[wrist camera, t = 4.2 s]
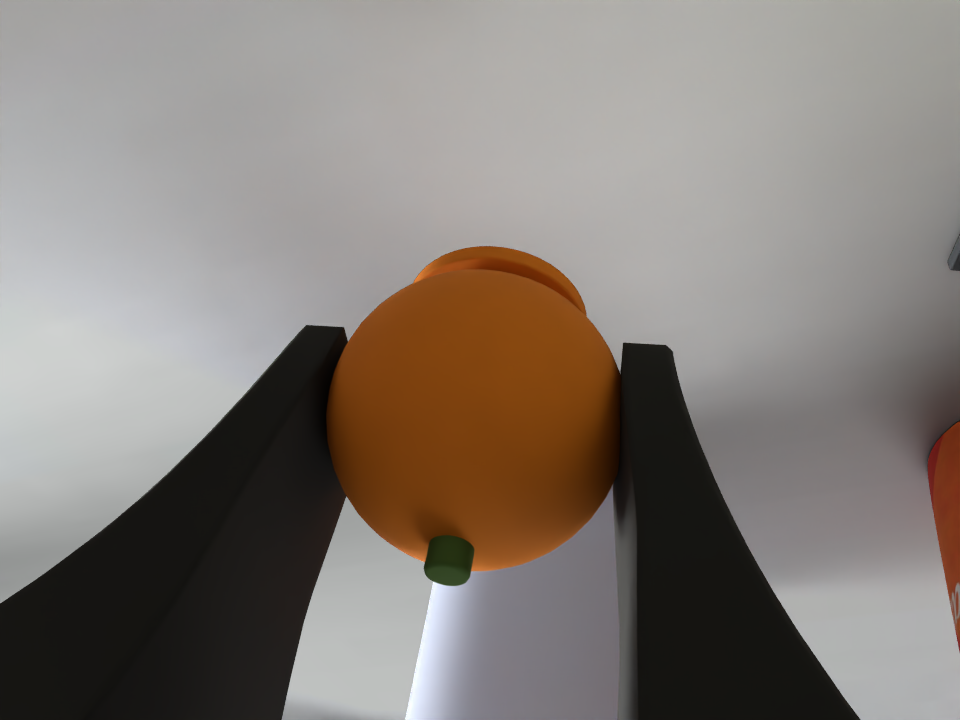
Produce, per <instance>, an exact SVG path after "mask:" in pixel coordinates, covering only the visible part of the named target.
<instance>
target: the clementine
mask: <svg viewBox="0 0 960 720" xmlns="http://www.w3.org/2000/svg"><path fill="white" fill-rule="evenodd" d="M620 397H621V375H620V372H619V370H618V367H617V365H616V362H615V360H614V358H613V355H612V353H611V351H610V349H609V347H608V345H607V344H606V342H605V340H604V339H603V337H602V336H601V334H600V333H599V332H598V330H597V329H596V327H595V326H594V325H593V324H592V323H591V321H590V320H589V319H588V318H587V316H586V310H585V306H584V303H583V301H582V298H581V296H580V294H579V293H578V291H577V289H576V288H575V286H574V285H573V284H572V283H571V282H570V280H569V279H568V278H567V277H566V276H565V275H564V274H563V273H561V272H560V271H559V270H558V269H556V268H555V267H554V266H552V265H551V264H549V263H547V262H545V261H544V260H542V259H540V258H538V257H535V256H533V255H531V254H528V253H525V252H522V251H518V250H514V249H509V248H504V247H493V246H479V247H470V248H464V249H460V250H456V251H453V252H450V253H448V254H445V255H443V256H441V257H439V258H438V259H436V260H434V261H433V262H432V263H430V264H429V265H427V266H426V267H425V268H424V269H423V270H422V271H421V272H420V273H419V275H418V276H417V278H416V279H415V280H414V283H413V284H411V285H409V286H407V287H405V288H403V289H401V290H400V291H398V292H397V293H395V294H394V295H392V296H391V297H389V298H388V299H387V300H385V301H384V302H382V303H381V304H380V305H379V306H378V307H377V308H376V309H375V310H374V311H373V312H372V313H371V314H370V315H369V316H368V317H367V318H366V319H365V320H364V321H363V322H362V323H361V324H360V326H359V327H358V328H357V330H356V331H355V333H354V334H353V336H352V337H351V339H350V340H349V341H348V343H347V344H346V346H345V348H344V350H343V352H342V354H341V357H340V359H339V361H338V363H337V366H336V368H335V371H334V374H333V377H332V381H331V385H330V389H329V395H328V402H327V411H326V425H327V441H328V446H329V450H330V454H331V459H332V463H333V467H334V470H335V472H336V475H337V477H338V479H339V482H340V484H341V486H342V488H343V491H344V493H345V494H346V496H347V497H348V499H349V500H350V502H351V503H352V505H353V506H354V508H355V510H356V511H357V513H358V514H359V515H360V516H361V517H362V518H363V520H364V521H365V522H366V523H367V524H368V525H369V526H370V527H371V528H372V529H373V530H374V531H375V532H376V533H377V534H378V535H379V536H381V537H382V538H383V539H384V540H386V541H387V542H389V543H390V544H391V545H393V546H395V547H396V548H398V549H399V550H401V551H402V552H404V553H406V554H408V555H410V556H412V557H414V558H416V559H418V560H421V561H423V562H425V565H424V571H425V574H426V576H427V577H428V578H429V579H430V580H432V581H433V582H435V583H438V584H441V585H446V586H459V585H463V584H465V583H466V582H467V581H468V579H469V578H470V575H471V571H492V570H498V569H504V568H509V567H514V566H518V565H521V564H524V563H527V562H530V561H532V560H534V559H537V558H539V557H541V556H543V555H545V554H547V553H549V552H551V551H553V550H554V549H556V548H557V547H559V546H560V545H562V544H563V543H565V542H566V541H567V540H569V539H570V538H572V537H573V536H574V535H575V534H576V533H577V532H578V531H579V530H580V529H581V528H582V527H583V526H584V525H585V524H586V523H587V522H588V521H589V520H590V519H591V518H592V517H593V515H594V514H595V513H596V511H597V510H598V508H599V507H600V506H601V504H602V503H603V501H604V500H605V498H606V497H607V495H608V493H609V491H610V489H611V487H612V485H613V483H614V480H615V478H616V476H617V474H618V467H619V454H620Z"/></svg>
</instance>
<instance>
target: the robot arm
mask: <svg viewBox="0 0 960 720" xmlns="http://www.w3.org/2000/svg"><path fill="white" fill-rule="evenodd" d="M347 343H348V341H347V337H346V333H345V330H344V327H331V326H313V325H306V326H305V327H304V328H303V329H302V330H301V331H300V332H299V333H298V334H297V335H296V336H295V338H294V339H293V340H292V341H291V342H290V343H289V344H288V346H287V347H286V348H285V349H284V350H283V351H282V352H281V354H280V355H279V356H278V357H277V358H276V359H275V361H274V362H273V363H272V364H271V365H270V366H269V367H268V369H267V370H266V371H265V372H264V373H263V374H262V375H261V377H260V378H259V379H258V380H257V381H256V382H255V383H254V384H253V386H252V387H251V388H250V389H249V390H248V391H247V392H246V393H245V395H244V396H243V397H242V398H241V399H240V400H239V401H238V402H237V403H236V404H235V405H234V406H233V408H232V409H231V410H230V411H229V412H228V413H227V414H226V415H225V416H224V417H223V418H222V419H221V420H220V422H219V423H218V424H217V425H216V426H215V427H214V428H213V429H212V430H211V431H210V432H209V433H208V434H207V435H206V436H205V437H204V438H203V439H202V440H201V441H200V442H199V443H198V444H197V445H196V446H195V447H194V448H193V449H192V450H191V451H190V452H189V453H188V454H187V455H186V456H185V457H184V458H183V459H182V460H181V461H180V462H179V463H178V464H177V465H176V466H175V467H174V468H173V469H172V470H171V471H170V472H169V473H168V474H167V475H165V476H164V477H163V478H162V479H161V480H160V481H159V482H158V483H157V484H156V485H155V486H153V487H152V488H151V489H150V490H149V491H148V492H147V493H146V494H145V495H143V496H142V497H141V498H140V499H139V500H138V501H137V502H135V503H134V504H133V505H132V506H131V507H130V508H128V509H127V510H126V511H125V512H124V513H122V514H121V515H120V516H119V517H118V518H117V519H115V520H114V521H113V522H112V523H110V524H109V525H108V526H107V527H105V528H104V529H103V530H102V531H100V532H99V533H98V534H96V535H95V536H94V537H93V538H91V539H90V540H89V541H88V542H86V543H85V544H84V545H82V546H81V547H80V548H78V549H77V550H76V551H74V552H73V553H72V554H70V555H69V556H68V557H66V558H65V559H64V560H62V561H61V562H60V563H58V564H57V565H55V566H54V567H53V568H51V569H50V570H49V571H47V572H46V573H45V574H43V575H42V576H40V577H39V578H38V579H36V580H35V581H33V582H32V583H30V584H29V585H27V586H26V587H24V588H23V589H21V590H20V591H18V592H17V593H15V594H14V595H12V596H11V597H9V598H8V599H6V600H5V601H3V602H2V603H0V720H281V719H282V715H283V710H284V705H285V701H286V696H287V692H288V687H289V682H290V678H291V673H292V669H293V665H294V661H295V657H296V652H297V648H298V644H299V640H300V636H301V631H302V627H303V623H304V619H305V616H306V613H307V610H308V606H309V603H310V600H311V596H312V593H313V590H314V587H315V585H316V582H317V579H318V576H319V573H320V570H321V567H322V564H323V562H324V559H325V556H326V553H327V550H328V547H329V544H330V542H331V539H332V536H333V533H334V530H335V527H336V524H337V522H338V519H339V516H340V513H341V510H342V507H343V504H344V501H345V498H346V494H345V493H344V491H343V488H342V486H341V484H340V482H339V479H338V477H337V475H336V472H335V470H334V467H333V463H332V459H331V454H330V450H329V446H328V441H327V425H326V411H327V402H328V395H329V389H330V385H331V381H332V377H333V374H334V371H335V368H336V366H337V363H338V361H339V359H340V357H341V354H342V352H343V350H344V348H345V346H346V344H347ZM620 375H621V397H620V454H619V467H618V474H617V476H616V478H615V480H614V483H613V485H612V487H611V489H610V491H609V493H608V495H607V497H606V498H605V500H604V501H603V503H602V504H601V506H600V507H599V508H598V510H597V511H596V513H595V514H594V515H593V517H592V518H591V519H590V520H589V521H588V522H587V523H586V524H585V525H584V526H583V527H582V528H581V529H580V530H579V531H578V532H577V533H576V534H575V535H574V536H573V537H572V538H570V539H569V540H567V541H566V542H565V543H563V544H562V545H560V546H559V547H557V548H556V549H554V550H553V551H551V552H549V553H547V554H545V555H543V556H541V557H539V558H537V559H534V560H532V561H530V562H527V563H524V564H521V565H518V566H514V567H509V568H504V569H498V570H492V571H471V575H470V578H469V579H468V581H467V582H466V583H465V584H463V585H459V586H446V585H441V584H438V583H435V582H433V587H432V592H431V597H430V601H429V606H428V611H427V616H426V621H425V626H424V631H423V636H422V641H421V646H420V650H419V655H418V660H417V665H416V670H415V675H414V680H413V685H412V690H411V695H410V699H409V704H408V709H407V714H406V719H405V720H860V718H859V717H858V716H857V714H856V713H855V712H854V710H853V709H852V708H851V706H850V705H849V704H848V703H847V701H846V700H845V699H844V697H843V696H842V694H841V693H840V691H839V690H838V688H837V687H836V686H835V684H834V683H833V681H832V680H831V678H830V677H829V675H828V674H827V673H826V671H825V670H824V668H823V667H822V665H821V664H820V662H819V661H818V659H817V658H816V657H815V655H814V654H813V652H812V651H811V649H810V648H809V646H808V645H807V643H806V642H805V641H804V639H803V638H802V636H801V635H800V633H799V632H798V630H797V629H796V627H795V626H794V624H793V622H792V621H791V619H790V618H789V616H788V614H787V613H786V611H785V610H784V608H783V606H782V605H781V603H780V601H779V600H778V598H777V597H776V595H775V593H774V592H773V590H772V588H771V587H770V585H769V583H768V581H767V580H766V578H765V576H764V575H763V573H762V571H761V569H760V568H759V566H758V564H757V562H756V561H755V559H754V557H753V555H752V553H751V552H750V550H749V548H748V546H747V544H746V542H745V540H744V538H743V536H742V535H741V533H740V531H739V529H738V527H737V525H736V523H735V521H734V519H733V517H732V515H731V513H730V511H729V509H728V506H727V504H726V502H725V500H724V498H723V496H722V494H721V492H720V490H719V487H718V485H717V483H716V481H715V479H714V476H713V474H712V471H711V469H710V467H709V464H708V462H707V459H706V457H705V455H704V452H703V450H702V447H701V445H700V443H699V440H698V437H697V435H696V432H695V429H694V427H693V424H692V421H691V418H690V415H689V412H688V409H687V406H686V403H685V401H684V397H683V394H682V391H681V387H680V383H679V380H678V376H677V372H676V367H675V363H674V357H673V351H672V350H671V349H670V348H668V347H667V346H666V345H654V344H636V343H623V351H622V362H621V374H620Z"/></svg>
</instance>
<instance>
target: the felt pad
mask: <svg viewBox="0 0 960 720" xmlns="http://www.w3.org/2000/svg"><path fill="white" fill-rule="evenodd" d="M948 265H949V268H950V270H955V271H960V235H959V238H958V240H957V242H956V244H955V246H954V248H953V251H952V253H951V255H950V257H949V259H948Z"/></svg>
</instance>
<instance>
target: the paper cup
mask: <svg viewBox="0 0 960 720" xmlns="http://www.w3.org/2000/svg"><path fill="white" fill-rule="evenodd" d="M928 479H929V487H930V495H931V501H932V506H933V512H934V518H935V524H936V530H937V536H938V541H939V546H940V551H941V557H942V562H943V567H944V573H945V578H946V583H947V589H948V594H949V599H950V605H951V610H952V615H953V620H954V625H955V630H956V635H957V641H958V646H959V651H960V421H959V422H957V423H956V424H955V425H953V426H952V427H951V428H950V429H948V430H947V431H946V432H945V433H944V434H943V435H942V436H941V437H940V438H939V440H938V441H937V442H936V444H935V445H934V447H933V449H932V450H931V453H930V455H929V459H928Z"/></svg>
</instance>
